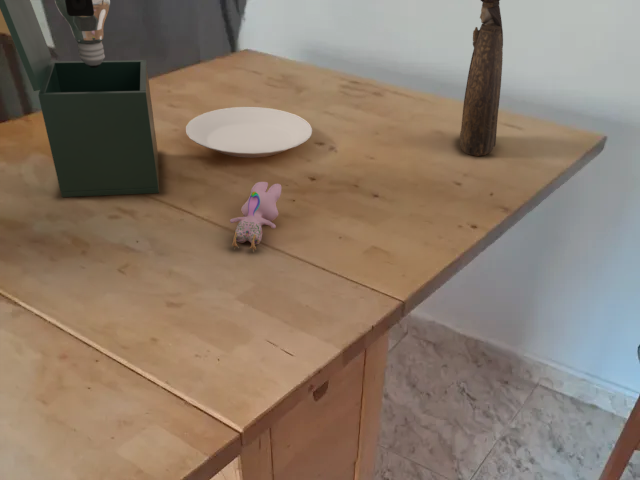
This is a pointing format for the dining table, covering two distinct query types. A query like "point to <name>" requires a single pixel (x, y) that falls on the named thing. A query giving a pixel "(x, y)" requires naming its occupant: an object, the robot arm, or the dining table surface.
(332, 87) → the dining table surface
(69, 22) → the light bulb
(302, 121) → the plate
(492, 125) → the statue
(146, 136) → the waste bin
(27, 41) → the bin lid
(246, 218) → the rabbit figure
